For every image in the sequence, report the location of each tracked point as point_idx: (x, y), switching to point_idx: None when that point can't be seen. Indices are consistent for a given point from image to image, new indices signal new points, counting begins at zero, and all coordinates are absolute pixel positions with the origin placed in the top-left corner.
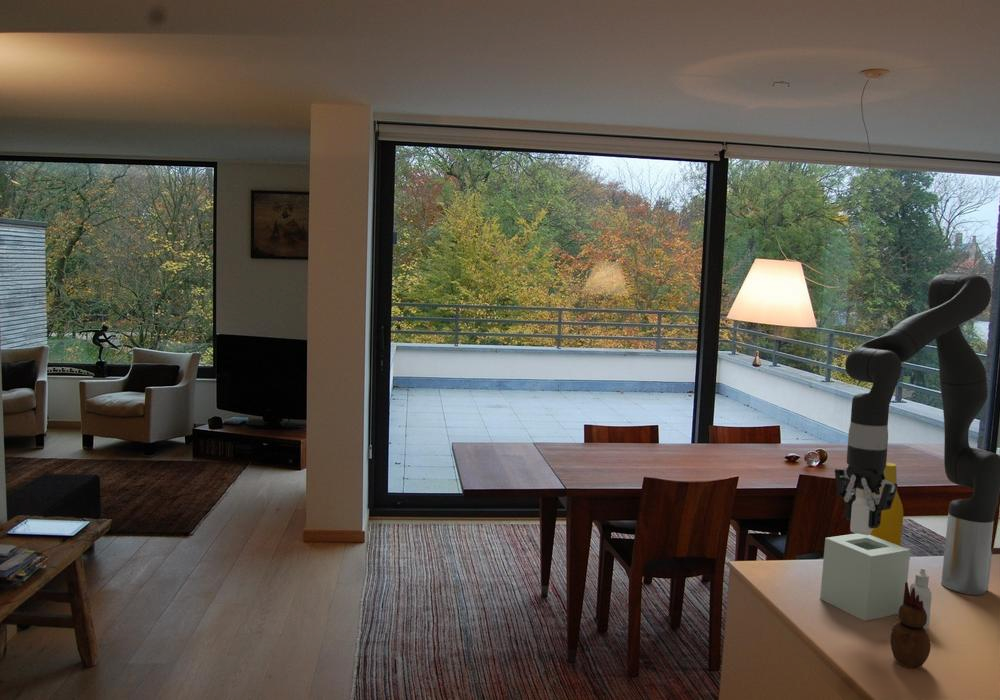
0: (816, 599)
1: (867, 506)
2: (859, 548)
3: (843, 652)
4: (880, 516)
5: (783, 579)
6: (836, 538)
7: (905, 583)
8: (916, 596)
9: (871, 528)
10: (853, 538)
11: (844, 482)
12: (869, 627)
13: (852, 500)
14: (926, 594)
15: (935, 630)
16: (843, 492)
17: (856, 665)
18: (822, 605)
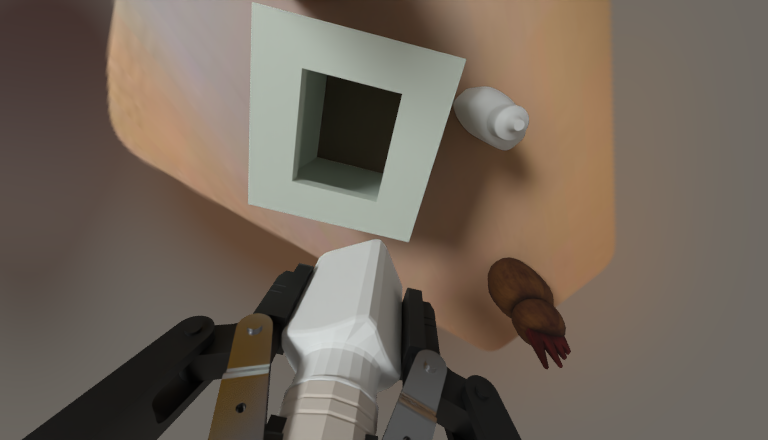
0: None
1: (381, 390)
2: (355, 209)
3: (434, 302)
4: (436, 339)
5: (212, 131)
6: (264, 180)
7: (543, 365)
8: (561, 357)
9: (399, 289)
10: (286, 126)
11: (134, 432)
12: (422, 204)
13: (273, 348)
14: (517, 143)
15: None
16: (203, 380)
17: (459, 319)
18: None
